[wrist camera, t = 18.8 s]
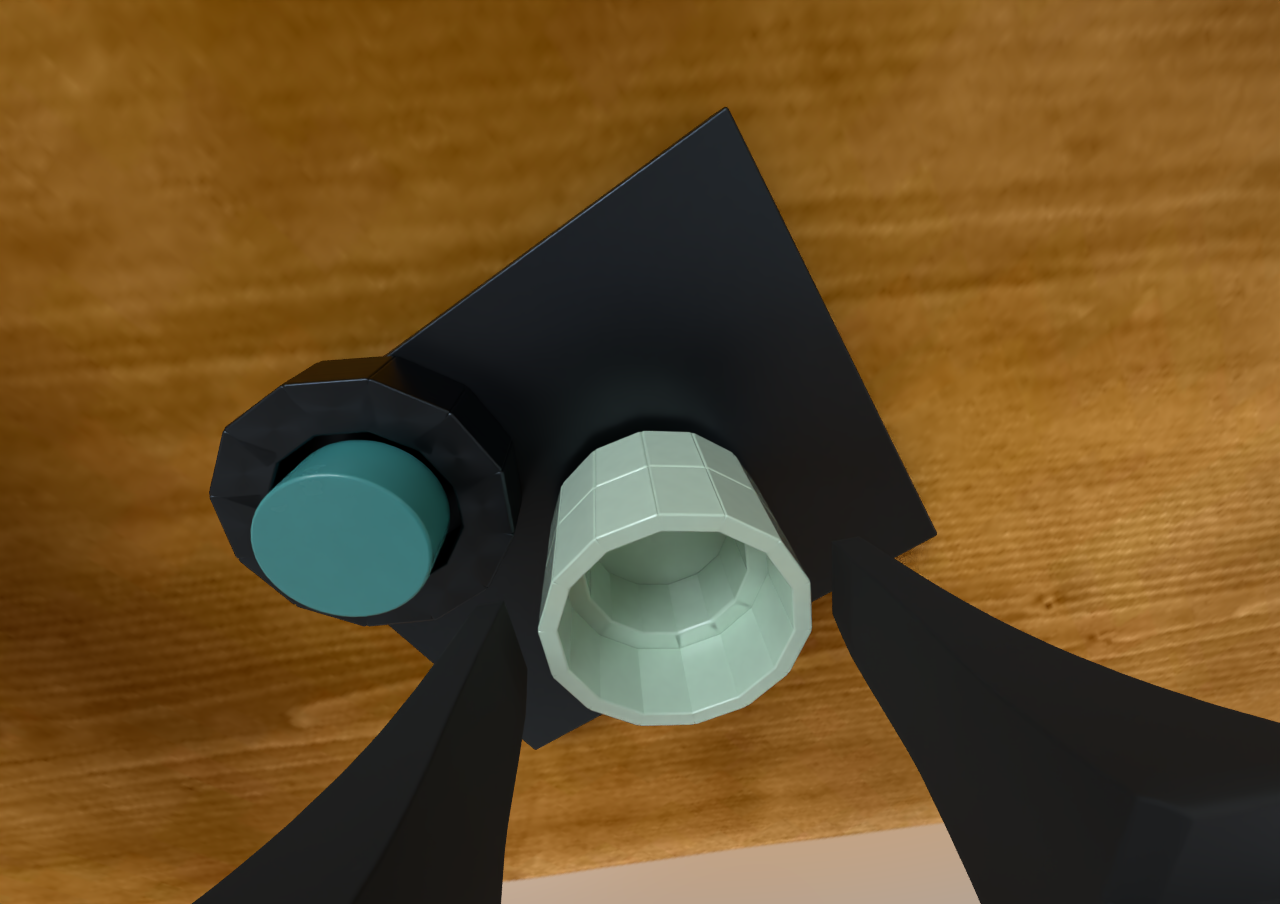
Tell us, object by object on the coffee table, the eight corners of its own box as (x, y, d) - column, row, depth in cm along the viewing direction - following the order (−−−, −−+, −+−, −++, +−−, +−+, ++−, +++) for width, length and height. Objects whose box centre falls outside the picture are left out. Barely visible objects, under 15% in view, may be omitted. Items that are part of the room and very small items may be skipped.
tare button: (371, 592, 14) (343, 643, 13) (256, 492, 13) (208, 535, 11) (482, 522, 14) (468, 566, 12) (373, 407, 12) (340, 440, 11)
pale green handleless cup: (578, 612, 17) (573, 746, 13) (532, 441, 14) (508, 541, 10) (761, 579, 17) (815, 703, 13) (747, 403, 14) (808, 487, 10)
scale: (538, 721, 20) (530, 802, 18) (220, 438, 15) (136, 493, 12) (917, 514, 18) (976, 572, 15) (699, 78, 12) (729, 47, 10)
